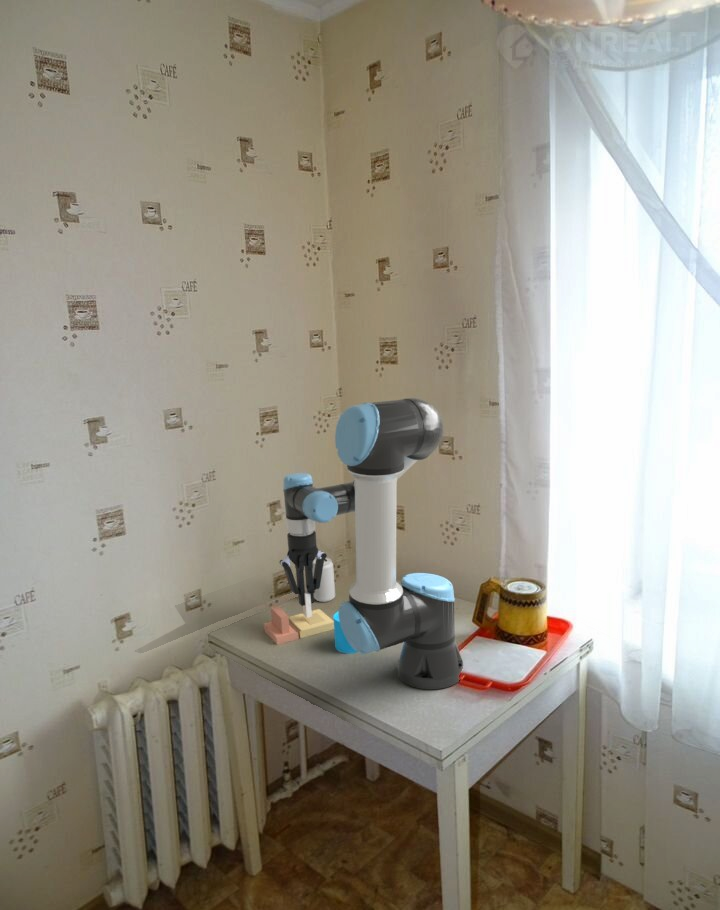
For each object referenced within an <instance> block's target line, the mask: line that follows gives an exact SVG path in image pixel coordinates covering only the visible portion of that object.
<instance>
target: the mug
mask: <svg viewBox="0 0 720 910" xmlns="http://www.w3.org/2000/svg"><path fill="white" fill-rule="evenodd" d="M333 621H334V629H333V631H334V647H335V649H336V650H337V651H338V652H340V653H342V654H355V653H358V652H357V651H355V650H354V649H353V648H352V646H351V645H350V644H349V642H348V641H347V639H346V637H345V635H344V633H343V630H342V628H341V624H340V620H339V610H337V611H336V612H335V613H334V614H333Z"/></svg>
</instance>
